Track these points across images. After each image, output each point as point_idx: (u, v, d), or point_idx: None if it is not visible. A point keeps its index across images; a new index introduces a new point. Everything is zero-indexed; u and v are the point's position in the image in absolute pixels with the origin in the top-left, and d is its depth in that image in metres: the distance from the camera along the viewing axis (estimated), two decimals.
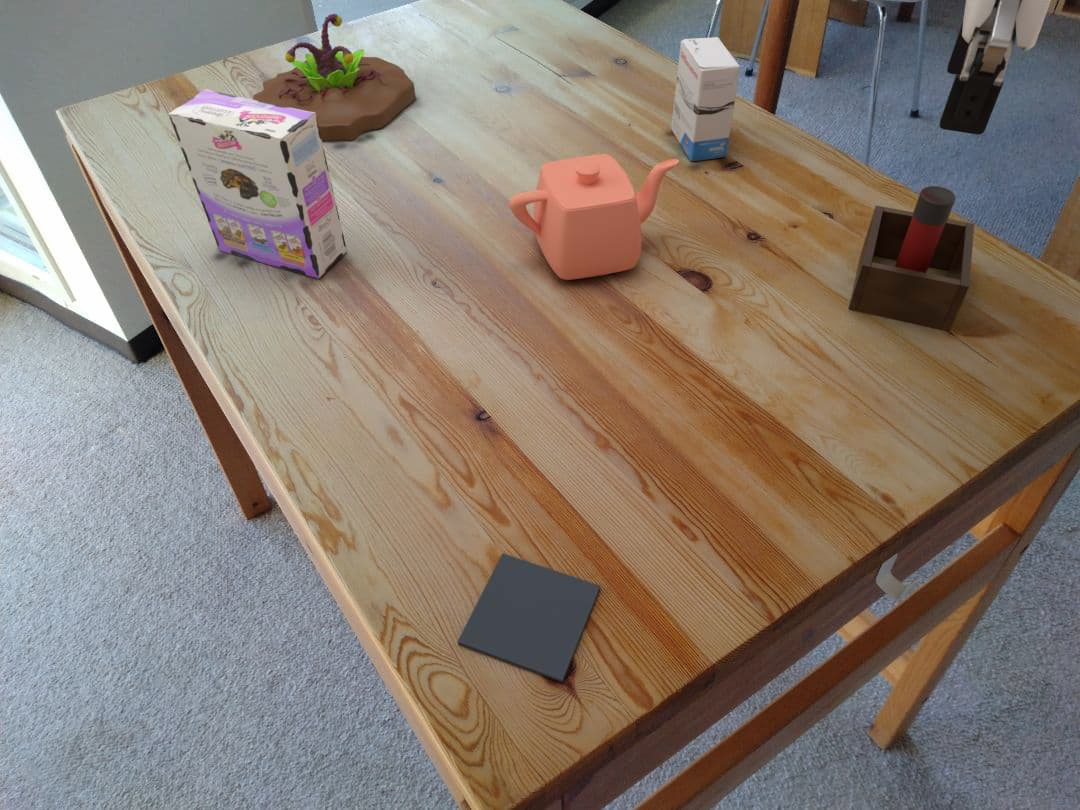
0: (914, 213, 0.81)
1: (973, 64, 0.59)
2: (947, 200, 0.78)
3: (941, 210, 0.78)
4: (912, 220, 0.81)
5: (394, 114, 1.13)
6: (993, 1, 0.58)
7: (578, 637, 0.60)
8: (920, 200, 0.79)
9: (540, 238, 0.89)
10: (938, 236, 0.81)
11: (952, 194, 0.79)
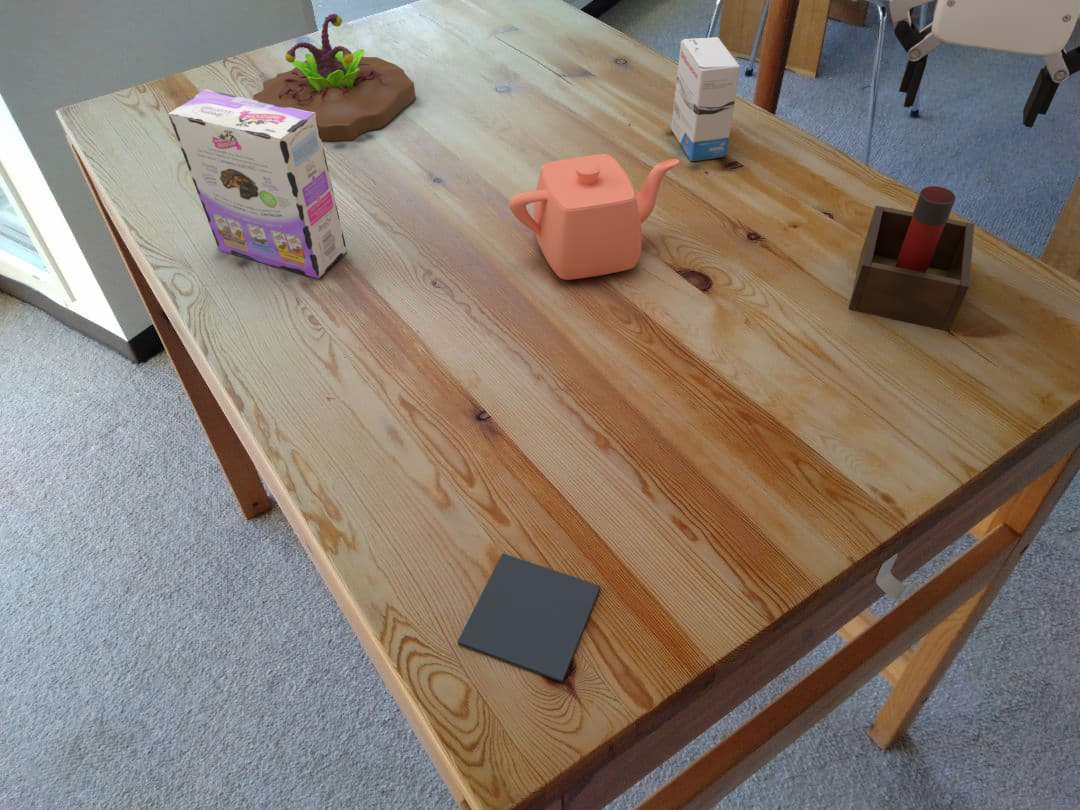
0: (914, 213, 0.81)
1: None
2: (947, 200, 0.78)
3: (941, 210, 0.78)
4: (912, 220, 0.81)
5: (394, 114, 1.13)
6: None
7: (578, 637, 0.60)
8: (920, 200, 0.79)
9: (540, 238, 0.89)
10: (938, 236, 0.81)
11: (952, 194, 0.79)
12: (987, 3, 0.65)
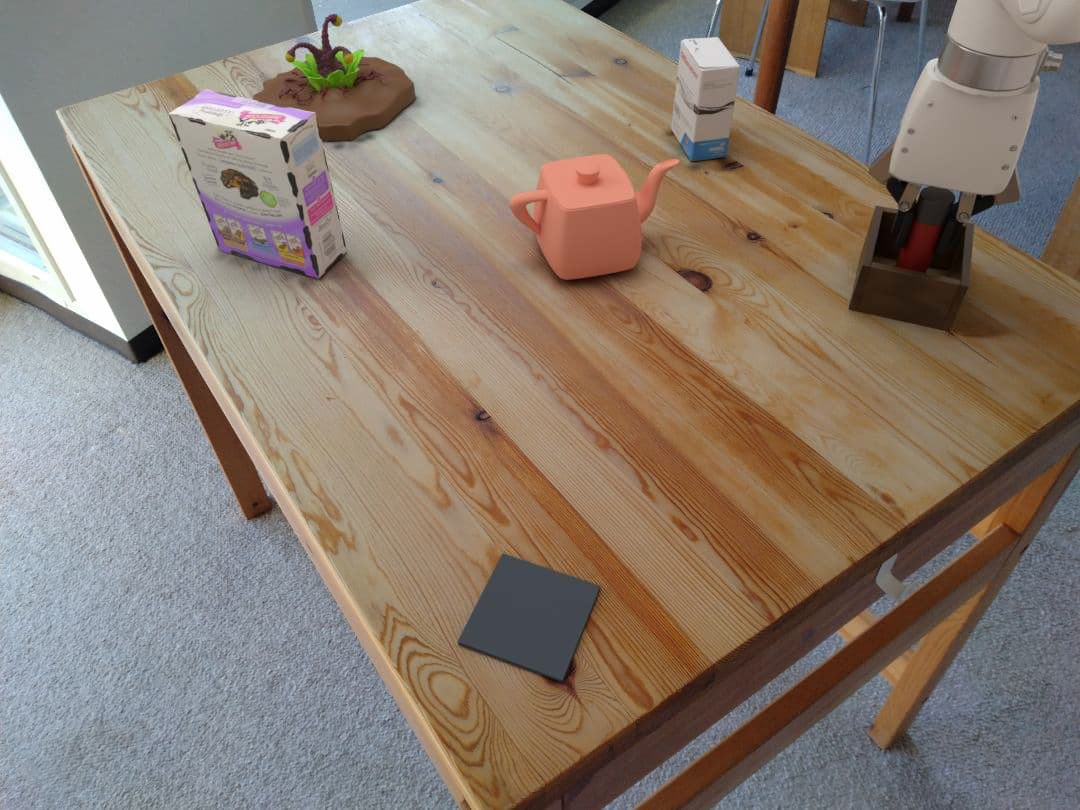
0: None
1: (987, 205, 0.77)
2: (947, 200, 0.78)
3: (941, 210, 0.78)
4: None
5: (394, 114, 1.13)
6: None
7: (578, 637, 0.60)
8: (920, 200, 0.79)
9: (540, 238, 0.89)
10: (938, 236, 0.81)
11: (952, 194, 0.79)
12: (936, 152, 0.74)
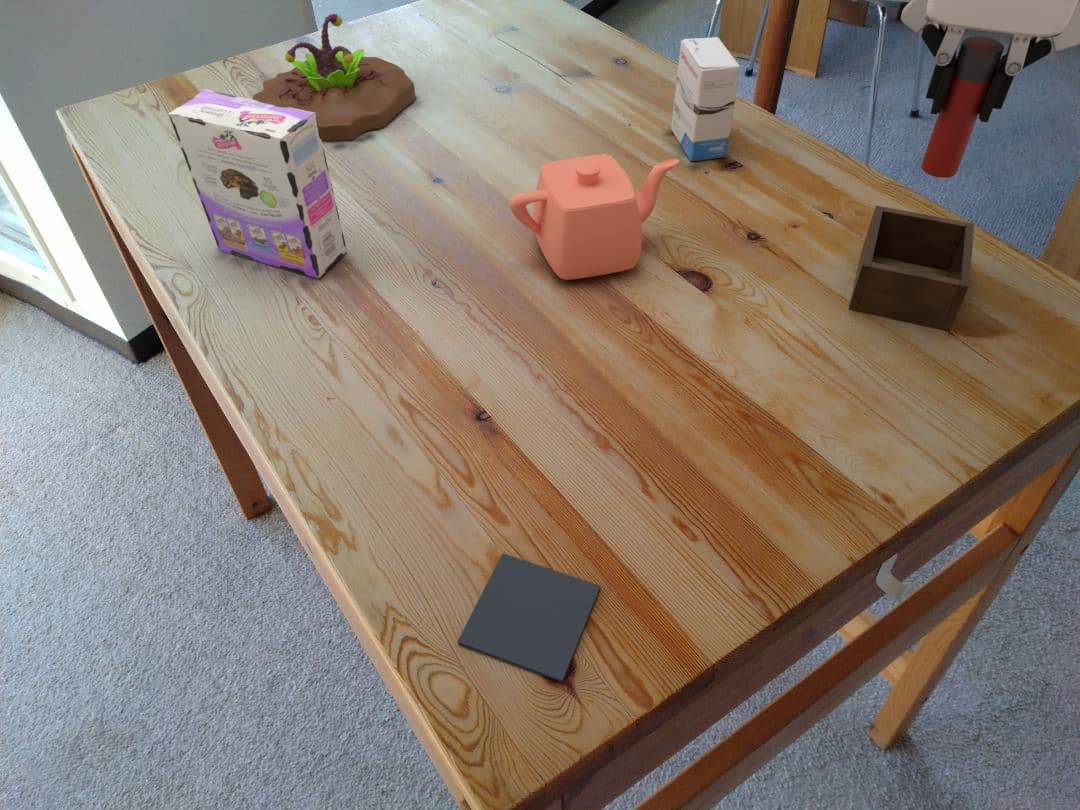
0: None
1: (1043, 52, 0.65)
2: (994, 49, 0.66)
3: (987, 62, 0.66)
4: None
5: (394, 114, 1.13)
6: None
7: (578, 637, 0.60)
8: (962, 51, 0.67)
9: (540, 238, 0.89)
10: (982, 97, 0.69)
11: (1000, 43, 0.67)
12: None
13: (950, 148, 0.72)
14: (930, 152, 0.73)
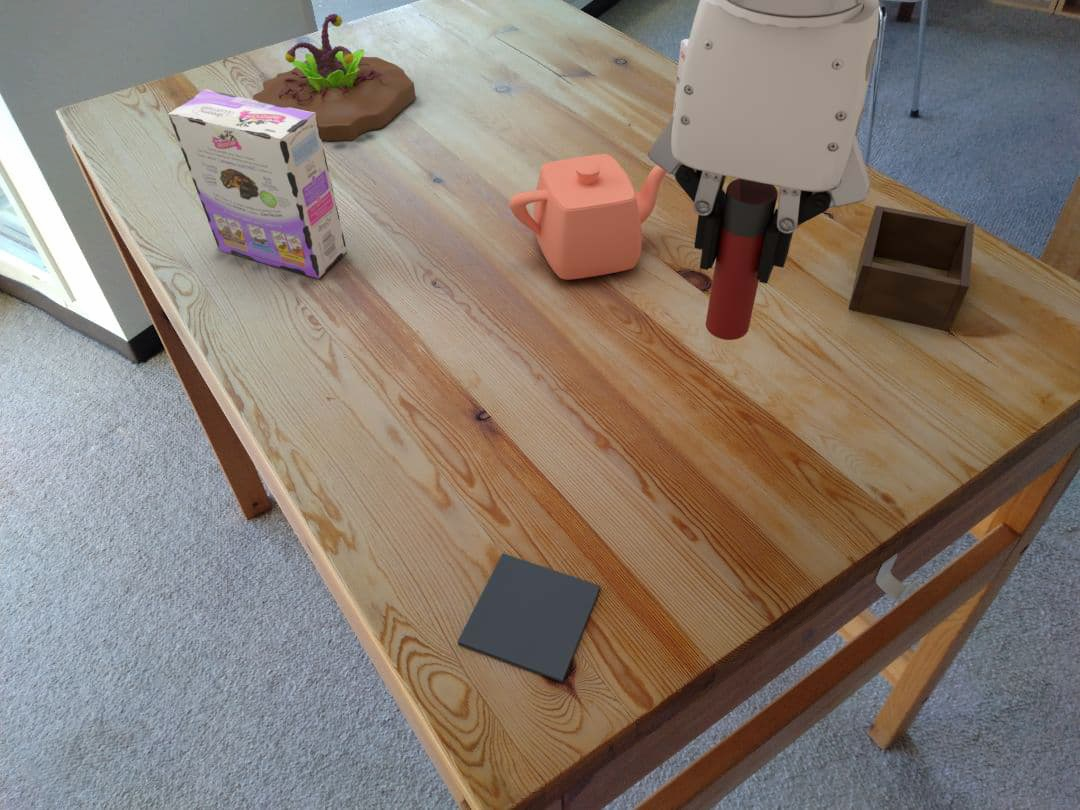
0: (722, 218, 0.54)
1: (820, 207, 0.50)
2: (764, 198, 0.51)
3: (754, 215, 0.51)
4: (721, 228, 0.54)
5: (394, 114, 1.13)
6: (854, 136, 0.46)
7: (578, 637, 0.60)
8: (726, 198, 0.52)
9: (540, 238, 0.89)
10: (759, 253, 0.54)
11: (774, 190, 0.52)
12: (728, 123, 0.47)
13: (730, 309, 0.57)
14: (710, 309, 0.58)
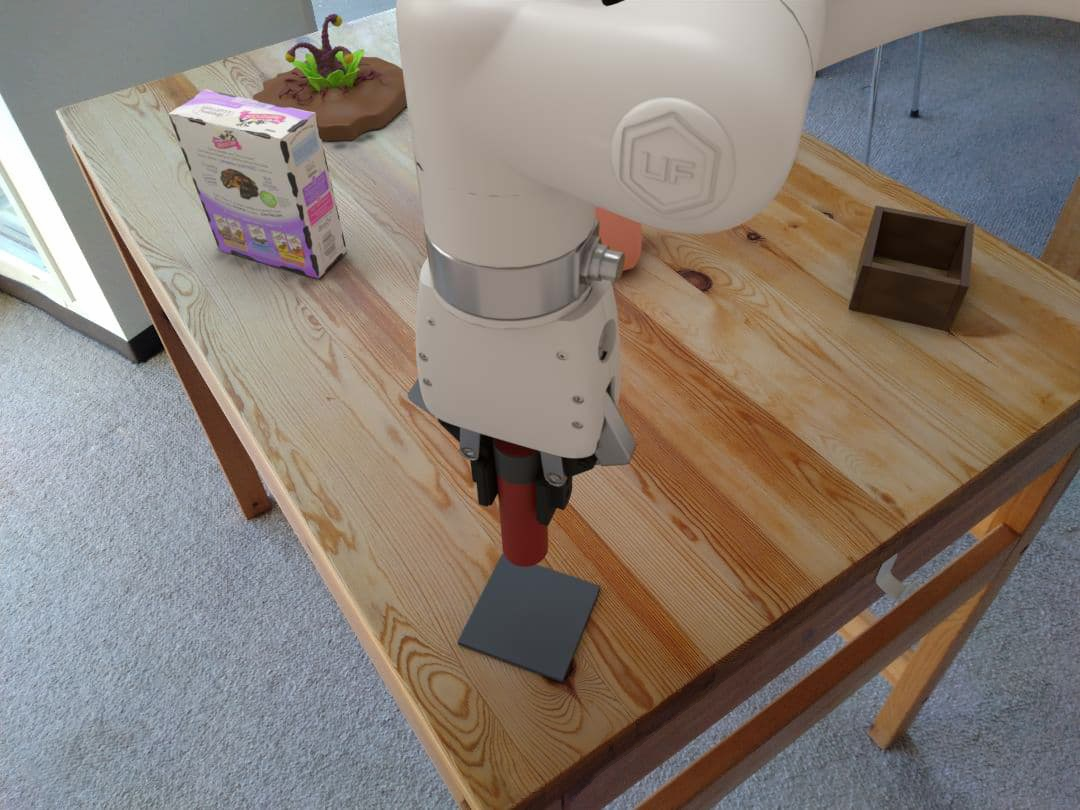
0: None
1: (585, 467, 0.46)
2: (530, 449, 0.47)
3: (520, 466, 0.47)
4: None
5: (394, 114, 1.13)
6: (603, 410, 0.42)
7: (578, 637, 0.60)
8: (493, 445, 0.48)
9: None
10: None
11: None
12: (469, 392, 0.43)
13: (518, 542, 0.53)
14: (502, 536, 0.54)
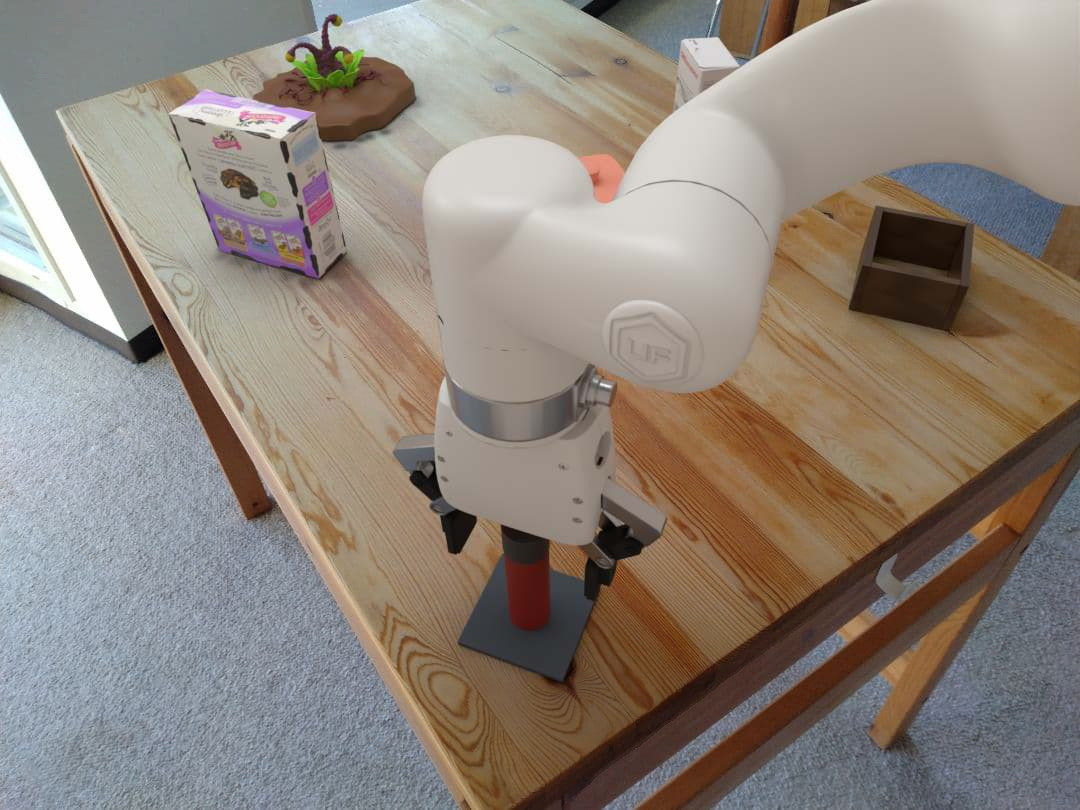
0: None
1: (632, 553, 0.50)
2: (533, 535, 0.53)
3: (525, 550, 0.53)
4: None
5: (394, 114, 1.13)
6: (599, 506, 0.48)
7: (578, 637, 0.60)
8: (501, 530, 0.54)
9: None
10: (540, 572, 0.56)
11: None
12: (481, 489, 0.48)
13: (523, 610, 0.59)
14: (508, 604, 0.60)
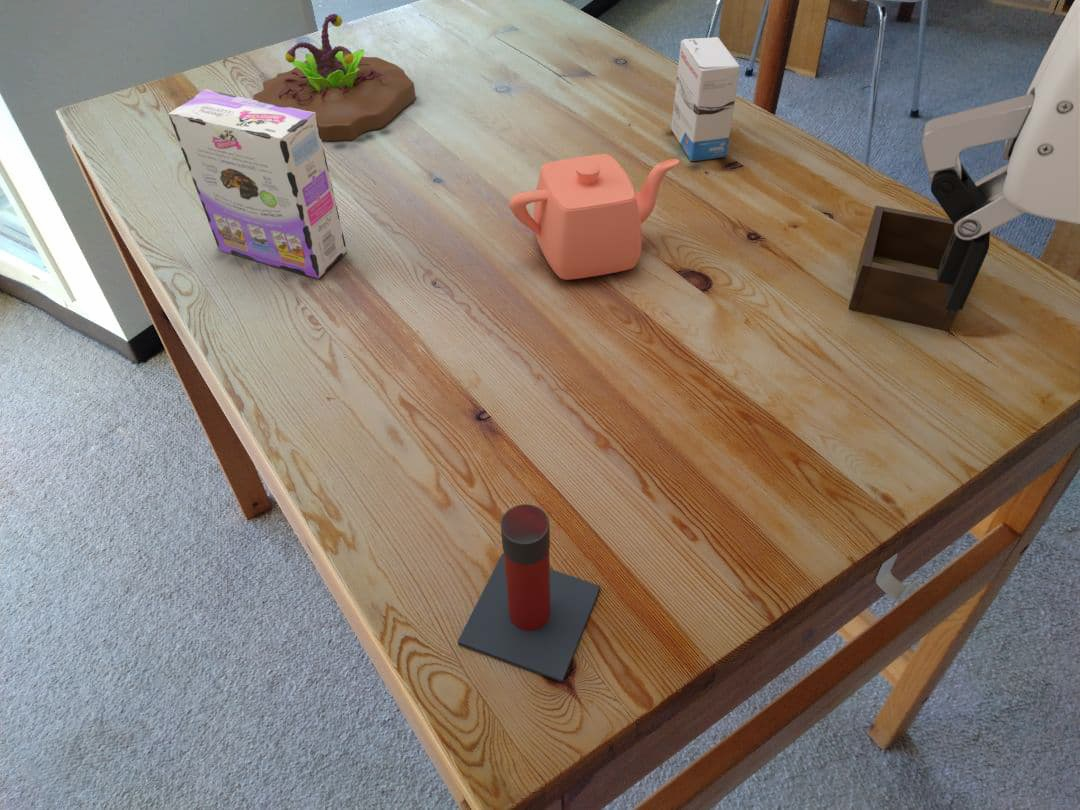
0: None
1: None
2: (533, 535, 0.53)
3: (525, 550, 0.53)
4: None
5: (394, 114, 1.13)
6: None
7: (578, 637, 0.60)
8: (501, 530, 0.54)
9: (540, 238, 0.89)
10: (540, 572, 0.56)
11: (546, 522, 0.54)
12: None
13: (523, 610, 0.59)
14: (508, 604, 0.60)
